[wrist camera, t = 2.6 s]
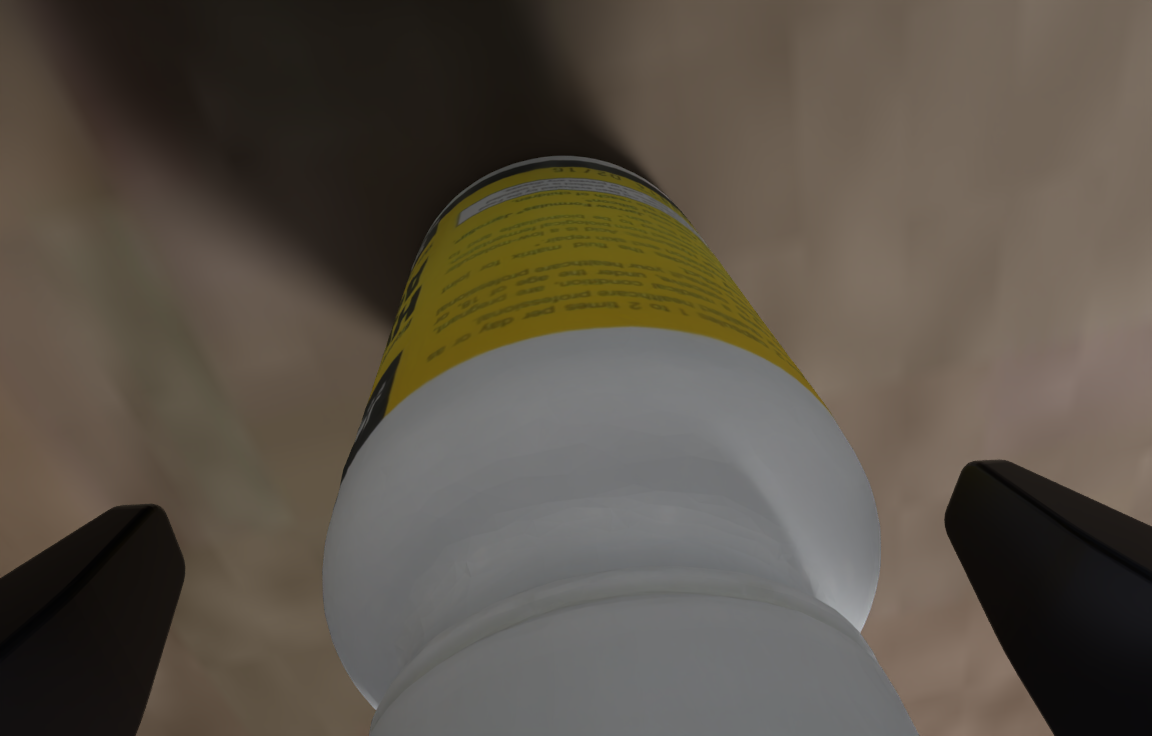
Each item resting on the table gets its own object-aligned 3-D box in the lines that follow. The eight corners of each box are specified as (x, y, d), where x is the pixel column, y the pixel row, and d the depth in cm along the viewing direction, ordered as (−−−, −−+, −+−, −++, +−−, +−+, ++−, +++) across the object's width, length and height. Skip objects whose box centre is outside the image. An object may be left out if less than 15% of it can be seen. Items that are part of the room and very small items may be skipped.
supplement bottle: (382, 161, 11) (-38, 784, 2) (707, 137, 11) (1340, 615, 3) (435, 429, 14) (325, 1157, 5) (694, 404, 14) (989, 1052, 5)
